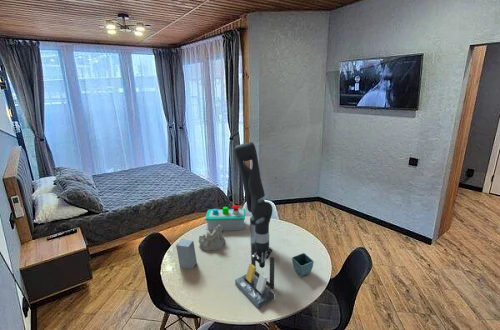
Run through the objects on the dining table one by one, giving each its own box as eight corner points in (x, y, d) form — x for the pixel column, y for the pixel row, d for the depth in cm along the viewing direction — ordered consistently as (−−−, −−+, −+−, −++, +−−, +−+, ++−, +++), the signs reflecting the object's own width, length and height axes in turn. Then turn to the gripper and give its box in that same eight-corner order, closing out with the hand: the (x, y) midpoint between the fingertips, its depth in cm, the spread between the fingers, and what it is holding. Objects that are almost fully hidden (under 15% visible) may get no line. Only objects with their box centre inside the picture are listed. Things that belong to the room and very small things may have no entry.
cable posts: (254, 269, 153) (253, 242, 148) (275, 288, 139) (275, 258, 133) (250, 270, 152) (250, 243, 146) (271, 290, 138) (271, 260, 132)
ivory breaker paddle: (258, 287, 134) (262, 273, 133) (263, 292, 131) (267, 277, 130) (255, 288, 133) (259, 273, 132) (260, 293, 130) (265, 278, 129)
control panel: (206, 202, 202) (245, 201, 202) (207, 221, 207) (246, 220, 207) (203, 211, 187) (245, 210, 187) (204, 232, 192) (246, 231, 192)
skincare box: (197, 262, 159) (195, 239, 155) (191, 270, 153) (188, 246, 148) (184, 260, 162) (182, 237, 157) (178, 267, 155) (175, 244, 151)
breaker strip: (250, 276, 147) (250, 268, 146) (274, 299, 132) (274, 290, 130) (235, 284, 142) (235, 276, 140) (258, 308, 126) (258, 300, 125)
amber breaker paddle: (247, 277, 141) (251, 263, 140) (252, 282, 138) (256, 267, 137) (245, 278, 140) (249, 264, 139) (249, 282, 137) (253, 268, 136)
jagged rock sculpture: (227, 237, 184) (224, 218, 180) (219, 252, 169) (216, 232, 165) (206, 236, 188) (203, 217, 183) (196, 250, 173) (193, 231, 168)
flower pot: (300, 280, 144) (301, 266, 141) (291, 270, 151) (291, 257, 149) (313, 274, 148) (314, 261, 145) (303, 265, 155) (304, 252, 153)
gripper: (267, 231, 144) (267, 258, 149) (247, 239, 137) (248, 268, 142) (276, 237, 138) (276, 265, 144) (256, 246, 131) (256, 275, 136)
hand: (262, 266), depth 143 cm, fingers closed
